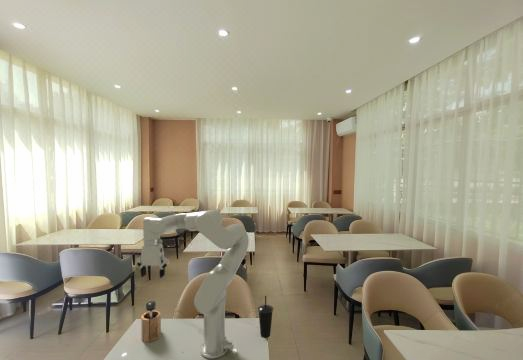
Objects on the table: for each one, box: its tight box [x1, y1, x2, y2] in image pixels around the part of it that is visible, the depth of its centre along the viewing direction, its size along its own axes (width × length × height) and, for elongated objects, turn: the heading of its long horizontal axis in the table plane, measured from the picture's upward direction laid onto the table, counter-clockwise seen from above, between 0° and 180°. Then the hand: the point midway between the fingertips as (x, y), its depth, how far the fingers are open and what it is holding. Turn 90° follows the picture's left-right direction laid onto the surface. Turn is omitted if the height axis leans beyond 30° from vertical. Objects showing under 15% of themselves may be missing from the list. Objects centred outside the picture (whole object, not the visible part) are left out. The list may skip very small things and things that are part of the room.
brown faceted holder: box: [140, 309, 162, 343], centre depth 130 cm, size 9×10×11 cm
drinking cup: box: [257, 295, 274, 339], centre depth 131 cm, size 8×8×20 cm
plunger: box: [145, 300, 157, 319], centre depth 129 cm, size 5×5×15 cm
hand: (152, 276), depth 128 cm, fingers open, 9 cm apart
